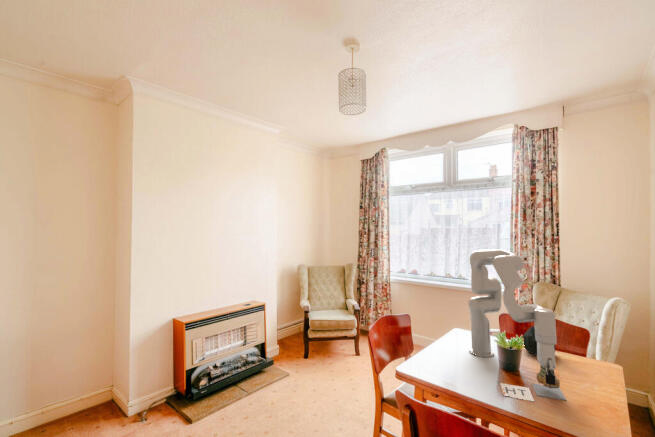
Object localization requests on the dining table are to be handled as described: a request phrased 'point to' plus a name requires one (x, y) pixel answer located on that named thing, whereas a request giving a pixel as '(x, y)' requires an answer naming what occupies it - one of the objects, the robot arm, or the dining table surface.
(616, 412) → the dining table surface
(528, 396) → the tile
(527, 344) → the squash
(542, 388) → the grey mat
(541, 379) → the ornament
